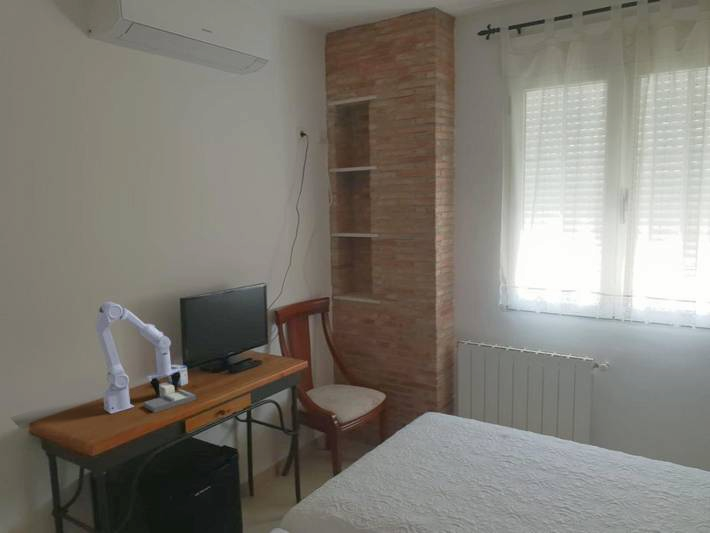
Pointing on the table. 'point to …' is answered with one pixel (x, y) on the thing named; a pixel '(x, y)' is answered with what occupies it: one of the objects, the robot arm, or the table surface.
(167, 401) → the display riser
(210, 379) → the table surface
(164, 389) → the cream white block
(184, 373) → the medicine box
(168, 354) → the robot arm
